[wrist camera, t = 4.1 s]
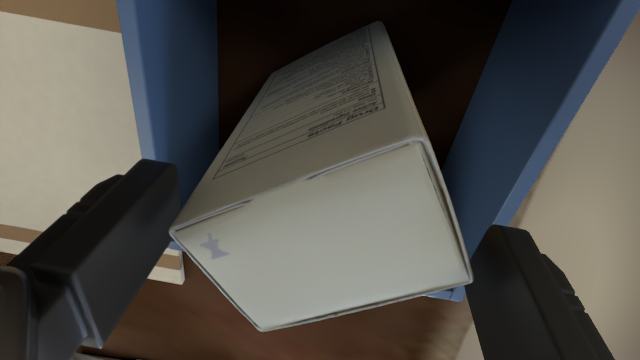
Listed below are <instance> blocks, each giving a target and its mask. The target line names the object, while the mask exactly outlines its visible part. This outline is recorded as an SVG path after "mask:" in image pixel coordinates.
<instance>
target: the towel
mask: <svg viewBox="0 0 640 360" xmlns="http://www.w3.org/2000/svg"><path fill="white" fill-rule="evenodd" d="M141 159H142V156H141V150H140V144H139V138H138V132H137V126H136V120H135V114H134V108H133V102H132V96H131V90H130V83H129V77H128V71H127V65H126V59H125V53H124V47H123V41H122V35H121V29H120V23H119V17H118V11H117V4H116V0H0V251H1V252H6V253H12V254H17V255H18V254H19V253H20V252H22V251H23V250H24V249H25V248H26V247H27V246H28V245H29V244H30V243H32V242H33V241H34V240H35V239H36V238H37V237H38V236H39V235H40V234H42V233H43V232H44V231H45V230H46V229H47V228H48V227H49V226H50V225H52V224H53V223H54V222H55V221H56V220H57V219H58V218H59V217H60V216H62V215H63V214H66V213H67V210H68V209H69V208H70V207H72V206H73V205H74V204H75V203H76V202H80V198H82V197H83V196H84V195H85V194H86V193H87V192H88V191H89V190H90V189H92V188H93V187H94V186H95V185H96V184H98V183H100V182H102V181H104V180H106V179H108V178H110V177H112V176H115V175H117V174H120V175H125V174H126V173H127V172H128V171H129V170H130V169H131V168H132V167H133V166H134V165H135V164H136V163H137V162H138V161H139V160H141ZM148 279H154V280H159V281H165V282H170V283H176V284H183V282H184V280H185V276H184V267H183V256H182V251H178V250H173V249H169V248H166V250H165V251H164V253H163V255H162V256H161V258H160V259H159V261H158V262H157V264H156V265H155V267H154V268H153V270H152V271H151V273H150V275H149V276H148Z"/></svg>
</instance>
